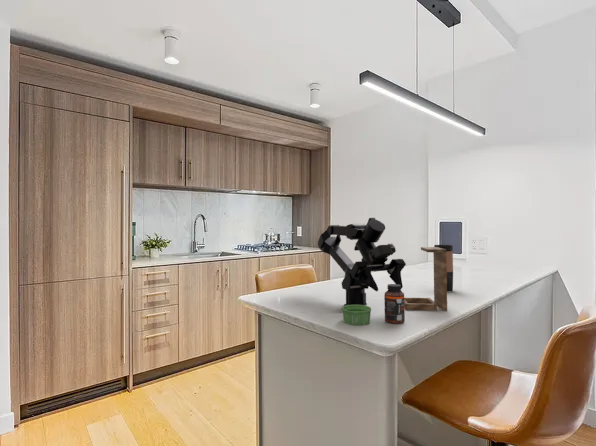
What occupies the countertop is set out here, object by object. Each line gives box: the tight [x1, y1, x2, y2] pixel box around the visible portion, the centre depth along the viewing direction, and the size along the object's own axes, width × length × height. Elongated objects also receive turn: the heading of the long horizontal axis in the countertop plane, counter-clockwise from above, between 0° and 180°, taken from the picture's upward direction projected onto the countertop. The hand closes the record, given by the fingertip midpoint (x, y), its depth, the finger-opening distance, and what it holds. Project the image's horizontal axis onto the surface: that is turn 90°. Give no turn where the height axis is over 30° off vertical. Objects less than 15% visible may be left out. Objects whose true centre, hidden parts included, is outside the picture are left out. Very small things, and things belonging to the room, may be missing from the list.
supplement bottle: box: [383, 283, 406, 325], centre depth 107 cm, size 6×6×11 cm
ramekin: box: [341, 305, 372, 326], centre depth 108 cm, size 9×9×4 cm
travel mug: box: [433, 244, 454, 293], centre depth 154 cm, size 8×8×20 cm
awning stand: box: [404, 246, 448, 312], centre depth 126 cm, size 14×11×21 cm
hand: (389, 289), depth 109 cm, fingers open, 9 cm apart
